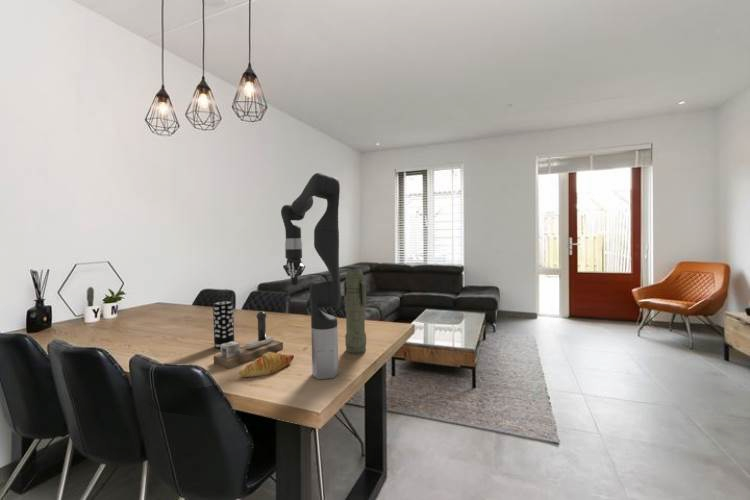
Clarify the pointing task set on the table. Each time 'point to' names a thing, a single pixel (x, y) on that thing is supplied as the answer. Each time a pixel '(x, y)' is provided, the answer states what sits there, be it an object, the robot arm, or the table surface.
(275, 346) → the door board
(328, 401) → the table surface
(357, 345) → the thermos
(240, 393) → the table surface
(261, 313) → the bolt
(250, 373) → the croissant
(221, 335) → the spotted tube
